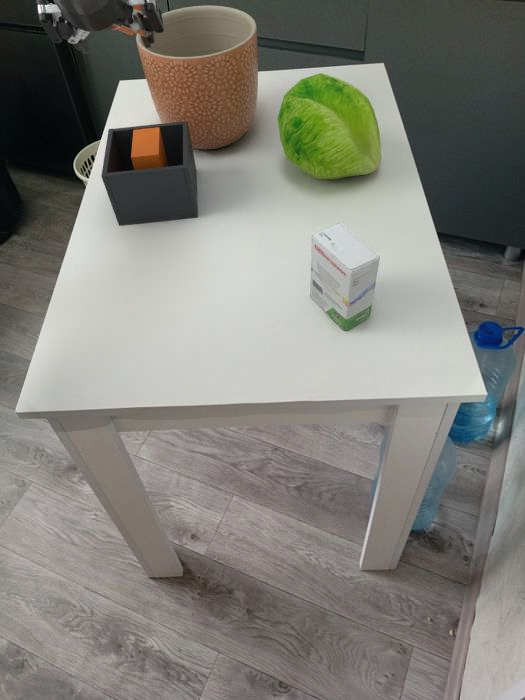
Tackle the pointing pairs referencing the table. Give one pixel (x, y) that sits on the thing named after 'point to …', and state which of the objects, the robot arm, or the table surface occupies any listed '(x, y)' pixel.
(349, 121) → the lettuce
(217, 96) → the planter
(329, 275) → the ink box
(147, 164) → the block
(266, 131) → the table surface
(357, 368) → the table surface
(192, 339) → the table surface
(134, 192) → the dark grey open box
